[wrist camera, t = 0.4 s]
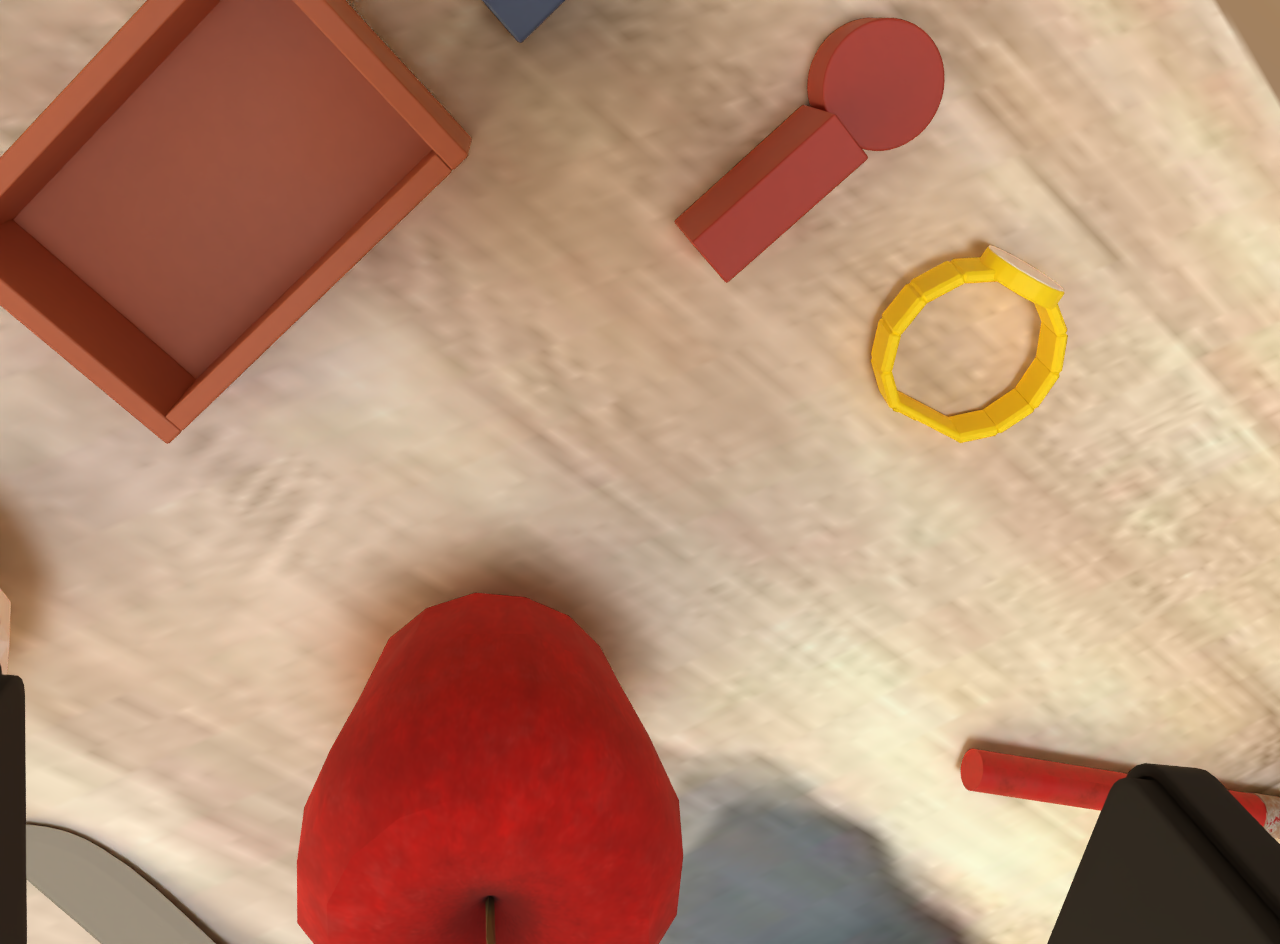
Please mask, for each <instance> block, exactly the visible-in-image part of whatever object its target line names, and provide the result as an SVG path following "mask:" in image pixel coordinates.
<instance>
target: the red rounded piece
mask: <svg viewBox="0 0 1280 944" xmlns="http://www.w3.org/2000/svg"><path fill="white" fill-rule="evenodd" d="M682 862H683V848H682V835H681V822H680V810H679V800H678V797H677V795H676V793H675V791H674V789H673V787H672V785H671V782H670V780H669V778H668V776H667V774H666V772H665V769H664V767H663V765H662V763H661V761H660V759H659V757H658V754H657V752H656V750H655V748H654V746H653V744H652V741H651V739H650V737H649V735H648V733H647V732H646V730H645V728H644V726H643V724H642V723H641V721H640V719H639V717H638V716H637V714H636V712H635V710H634V709H633V707H632V705H631V703H630V701H629V700H628V698H627V696H626V694H625V693H624V691H623V689H622V687H621V686H620V684H619V682H618V680H617V678H616V676H615V674H614V672H613V671H612V669H611V667H610V665H609V663H608V661H607V659H606V657H605V655H604V653H603V652H602V650H601V648H600V646H599V645H598V644H597V643H596V642H595V641H594V640H593V639H592V638H591V637H590V636H589V635H588V634H587V633H586V632H585V631H584V630H583V629H582V628H581V627H580V626H579V625H578V624H577V623H575V622H574V621H573V620H572V619H571V618H570V617H569V616H568V615H566V614H563V613H561V612H559V611H556V610H554V609H552V608H549V607H547V606H545V605H542V604H540V603H538V602H535V601H533V600H531V599H528V598H526V597H517V596H506V595H495V594H485V593H473V594H469V595H466V596H463V597H460V598H457V599H454V600H451V601H447V602H444V603H441V604H438V605H435V606H432V607H429V608H426V609H425V610H424V611H423V612H421V613H420V614H419V615H418V616H416V617H415V618H414V619H413V620H411V621H410V622H409V623H408V624H407V625H405V626H404V627H403V628H402V629H400V630H399V631H398V632H397V633H395V634H394V635H393V636H392V637H390V638H389V640H388V642H387V644H386V646H385V648H384V650H383V652H382V654H381V656H380V658H379V660H378V662H377V664H376V666H375V668H374V670H373V672H372V674H371V676H370V678H369V680H368V682H367V684H366V686H365V688H364V690H363V692H362V694H361V696H360V698H359V699H358V701H357V703H356V705H355V707H354V708H353V710H352V712H351V714H350V716H349V717H348V719H347V721H346V723H345V724H344V726H343V728H342V730H341V732H340V733H339V735H338V737H337V739H336V741H335V742H334V744H333V746H332V748H331V750H330V752H329V754H328V756H327V759H326V761H325V763H324V765H323V767H322V770H321V772H320V774H319V776H318V778H317V781H316V783H315V785H314V787H313V789H312V792H311V794H310V796H309V798H308V800H307V803H306V805H305V807H304V814H303V822H302V829H301V837H300V844H299V851H298V859H297V923H298V924H299V925H300V927H301V928H302V929H303V931H304V932H305V933H306V934H307V936H308V937H309V938H310V939H311V941H312V942H313V943H314V944H659V943H660V941H661V939H662V938H663V936H664V935H665V933H666V931H667V930H668V928H669V926H670V925H671V923H672V922H673V920H674V918H675V917H676V915H677V906H678V897H679V889H680V880H681V871H682Z"/></svg>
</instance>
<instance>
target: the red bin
mask: <svg viewBox="0 0 1280 944" xmlns="http://www.w3.org/2000/svg"><path fill="white" fill-rule="evenodd" d="M471 140H472V139H471V137H470V136H469V135H468V134H467V133H466V131H465V130H464V129H463V128H462V127H461V126H460V125H459V124H458V123H457V122H456V121H455V119H454V118H453V117H452V116H451V115H450V114H449V113H448V112H447V111H446V110H445V109H444V107H443V106H442V105H441V104H440V103H439V102H438V101H437V100H436V99H435V98H434V97H433V96H432V94H431V93H430V92H429V91H428V90H427V89H426V88H425V87H424V86H423V85H422V84H421V82H420V81H419V80H418V79H417V78H416V77H415V76H414V75H413V74H412V73H411V72H410V70H409V69H408V68H407V67H406V66H405V65H404V64H403V63H402V62H401V61H400V60H399V58H398V57H397V56H396V55H395V54H394V53H393V52H392V51H391V50H390V49H389V48H388V46H387V45H386V44H385V43H384V42H383V41H382V40H381V39H380V38H379V37H378V36H377V35H376V33H375V32H374V31H373V30H372V29H371V28H370V27H369V26H368V25H367V24H366V23H365V21H364V20H363V19H362V18H361V17H360V16H359V15H358V14H357V13H356V12H355V11H354V9H353V8H352V7H351V6H350V5H349V4H348V3H347V2H346V1H345V0H147V1H146V2H145V3H144V4H143V5H142V6H141V7H140V8H139V10H138V11H137V12H136V13H135V14H134V15H133V16H132V17H131V18H130V19H129V20H128V21H127V22H126V23H125V25H124V26H123V27H122V28H121V29H120V30H119V31H118V32H117V33H116V34H115V35H114V36H113V37H112V38H111V40H110V41H109V42H108V43H107V44H106V45H105V46H104V47H103V48H102V49H101V50H100V51H99V52H98V53H97V55H96V56H95V57H94V58H93V59H92V60H91V61H90V62H89V63H88V64H87V65H86V66H85V67H84V68H83V70H82V71H81V72H80V73H79V74H78V75H77V76H76V77H75V78H74V79H73V80H72V81H71V82H70V84H69V85H68V86H67V87H66V88H65V89H64V90H63V91H62V92H61V93H60V94H59V95H58V96H57V97H56V99H55V100H54V101H53V102H52V103H51V104H50V105H49V106H48V107H47V108H46V109H45V110H44V111H43V112H42V114H41V115H40V116H39V117H38V118H37V119H36V120H35V121H34V122H33V123H32V124H31V125H30V126H29V127H28V129H27V130H26V131H25V132H24V133H23V134H22V135H21V136H20V137H19V138H18V139H17V140H16V141H15V142H14V144H13V145H12V146H11V147H10V148H9V149H8V150H7V151H6V152H5V153H4V154H3V155H2V156H1V157H0V305H1V306H2V307H3V308H4V309H5V310H7V311H8V312H9V313H10V314H11V315H13V316H14V317H15V318H16V319H17V320H19V321H20V322H21V323H22V324H23V325H25V326H26V327H27V328H28V329H29V330H31V331H32V332H33V333H34V334H35V335H37V336H38V337H39V338H40V339H41V340H43V341H44V342H45V343H46V344H47V345H49V346H50V347H51V348H52V349H53V350H55V351H56V352H57V353H58V354H59V355H61V356H62V357H63V358H64V359H65V360H67V361H68V362H69V363H70V364H71V365H73V366H74V367H75V368H76V369H77V370H79V371H80V372H81V373H82V374H83V375H85V376H86V377H87V378H88V379H89V380H91V381H92V382H93V383H94V384H95V385H97V386H98V387H99V388H100V389H101V390H103V391H104V392H105V393H106V394H107V395H109V396H110V397H111V398H112V399H113V400H115V401H116V402H117V403H118V404H119V405H121V406H122V407H123V408H124V409H125V410H127V411H128V412H129V413H130V414H131V415H133V416H134V417H135V418H136V419H137V420H139V421H140V422H141V423H142V424H144V425H145V426H146V427H147V428H148V429H150V430H151V431H152V432H153V433H154V434H156V435H157V436H158V437H159V438H160V439H162V440H163V441H164V442H165V443H167V444H168V443H170V442H171V441H172V440H173V439H174V438H175V437H176V436H177V435H179V434H180V433H181V431H182V430H184V429H185V428H186V427H187V426H188V425H189V424H190V423H191V422H192V421H193V420H194V419H195V418H196V417H197V416H198V415H199V414H200V413H201V412H202V411H204V410H205V409H206V408H207V407H208V406H209V405H210V404H211V403H212V402H213V401H214V400H215V399H216V398H217V397H218V396H219V395H220V394H221V393H222V392H223V391H224V390H225V389H226V388H227V387H228V386H229V385H231V384H232V383H233V382H234V381H235V380H236V379H237V378H238V377H239V376H240V375H241V374H242V373H243V372H244V371H245V370H246V369H247V368H248V367H249V366H250V365H251V364H252V363H253V362H254V361H255V360H257V359H258V358H259V357H260V356H261V355H262V354H263V353H264V352H265V351H266V350H267V349H268V348H269V347H270V346H271V345H272V344H273V343H274V342H275V341H276V340H277V339H278V338H279V337H280V336H281V335H282V334H284V333H285V332H286V331H287V330H288V329H289V328H290V327H291V326H292V325H293V324H294V323H295V322H296V321H297V320H298V319H299V318H300V317H301V316H302V315H303V314H304V313H305V312H306V311H307V310H308V309H309V308H311V307H312V306H313V305H314V304H315V303H316V302H317V301H318V300H319V299H320V298H321V297H322V296H323V295H324V294H325V293H326V292H327V291H328V290H329V289H330V288H331V287H332V286H333V285H334V284H335V283H337V282H338V281H339V280H340V279H341V278H342V277H343V276H344V275H345V274H346V273H347V272H348V271H349V270H350V269H351V268H352V267H353V266H354V265H355V264H356V263H357V262H358V261H359V260H360V259H361V258H362V257H364V256H365V255H366V254H367V253H368V252H369V251H370V250H371V249H372V248H373V247H374V246H375V245H376V244H377V243H378V242H379V241H380V240H381V239H382V238H383V237H384V236H385V235H386V234H387V233H388V232H389V231H391V230H392V229H393V228H394V227H395V226H396V225H397V224H398V223H399V222H400V221H401V220H402V219H403V218H404V217H405V216H406V215H407V214H408V213H409V212H410V211H411V210H412V209H413V208H414V207H415V206H417V205H418V204H419V203H420V202H421V201H422V200H423V199H424V198H425V197H426V196H427V195H428V194H429V193H430V192H431V191H432V190H433V189H434V188H435V187H436V186H437V185H438V184H439V183H440V182H441V181H442V180H444V179H445V178H446V177H447V176H448V175H449V174H450V173H451V171H452V170H453V169H455V168H456V167H457V166H458V165H459V164H460V163H461V162H462V161H463V160H464V159H465V158H466V157H467V156H468V153H469V149H470V145H471Z"/></svg>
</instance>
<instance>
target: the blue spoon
mask: <svg viewBox="0 0 1280 944" xmlns="http://www.w3.org/2000/svg"><path fill="white" fill-rule="evenodd" d="M482 1H483V2H484V3H485V4H486V6H487V7H488V8H489V9H490V10H491V11H492V13H493V14H494V15H495V16H496V17H497V18H498V19H499V21H500V22H501V23H502V24H503V25H504V26H505V28H506V29H507V30H508V31H509V32H510V33H511V35H512V36H513V37H514V38H515V39H516V40H517V41H518V42H519V43H521V42H523V41H524V40H525V39H526V38H527V37H528V36H529V35H530V34H531V33H532V32H533V31H534V30H536V29H537V28H538V27H539V26H540V25H541V24H542V23H543V22H544V21H545V20H546V19H547V18H548V17H549V16H550V15H551V14H552V13H553V12H554V11H555V10H556V9H557V8H558V7H559V6H560V5H561V4H562V3H563V2H564V1H565V0H482Z"/></svg>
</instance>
